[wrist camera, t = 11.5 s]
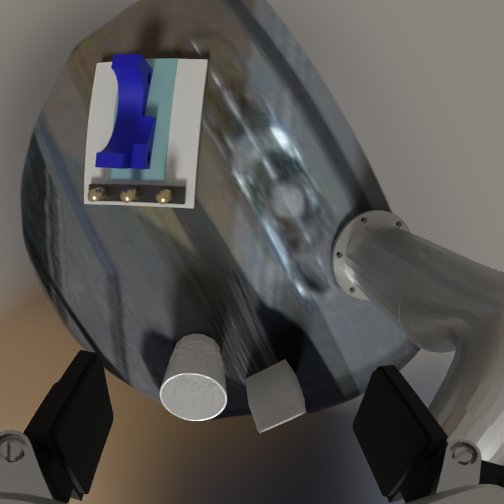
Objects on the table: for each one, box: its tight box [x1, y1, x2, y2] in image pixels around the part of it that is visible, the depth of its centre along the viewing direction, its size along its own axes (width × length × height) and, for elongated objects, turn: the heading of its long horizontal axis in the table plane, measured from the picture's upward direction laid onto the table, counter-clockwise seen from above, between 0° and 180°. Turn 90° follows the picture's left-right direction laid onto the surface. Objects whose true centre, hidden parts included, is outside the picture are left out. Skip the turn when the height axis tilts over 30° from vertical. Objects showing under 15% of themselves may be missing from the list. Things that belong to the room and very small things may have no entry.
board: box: [84, 58, 208, 208], centre depth 33 cm, size 14×18×2 cm
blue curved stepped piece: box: [95, 54, 157, 169], centre depth 29 cm, size 12×4×6 cm, turn 172°
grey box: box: [246, 359, 306, 433], centre depth 40 cm, size 4×7×10 cm, turn 119°
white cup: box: [160, 334, 227, 421], centre depth 38 cm, size 8×8×10 cm
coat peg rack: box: [87, 184, 186, 204], centre depth 33 cm, size 12×2×4 cm, turn 85°
